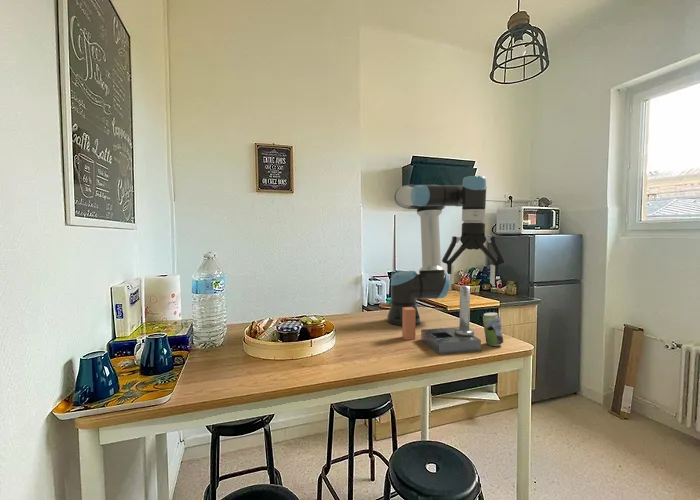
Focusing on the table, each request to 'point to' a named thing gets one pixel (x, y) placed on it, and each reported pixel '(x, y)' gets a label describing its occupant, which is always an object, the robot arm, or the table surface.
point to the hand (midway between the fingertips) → (471, 283)
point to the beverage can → (492, 329)
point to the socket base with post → (454, 332)
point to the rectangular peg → (408, 323)
